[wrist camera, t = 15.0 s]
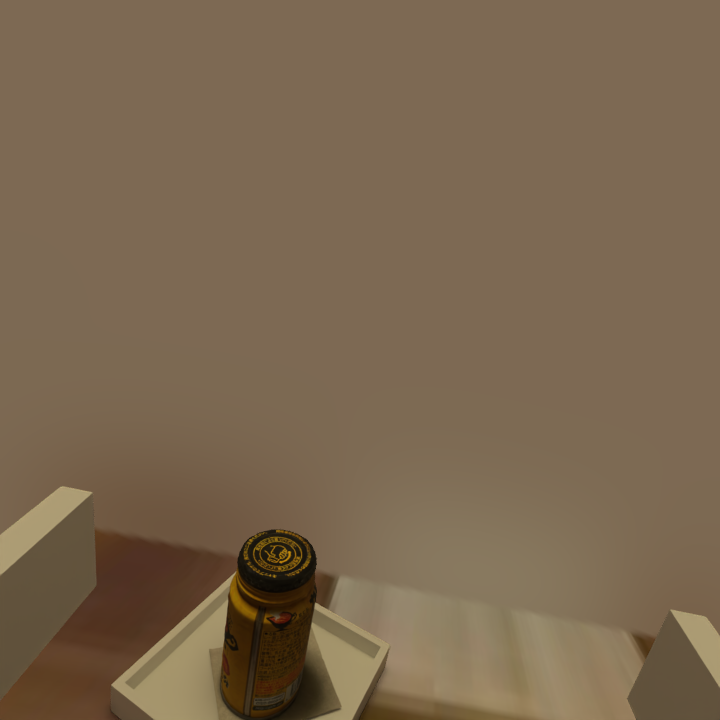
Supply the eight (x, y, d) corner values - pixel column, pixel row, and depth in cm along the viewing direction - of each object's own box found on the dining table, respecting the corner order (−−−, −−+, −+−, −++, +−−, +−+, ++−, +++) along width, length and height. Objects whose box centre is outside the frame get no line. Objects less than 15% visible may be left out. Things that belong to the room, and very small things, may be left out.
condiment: (208, 651, 37) (220, 525, 33) (310, 627, 41) (331, 511, 37) (222, 749, 31) (238, 608, 27) (341, 710, 34) (370, 581, 31)
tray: (384, 667, 39) (390, 645, 39) (289, 857, 27) (294, 830, 26) (242, 584, 45) (245, 563, 44) (110, 711, 33) (110, 685, 32)
